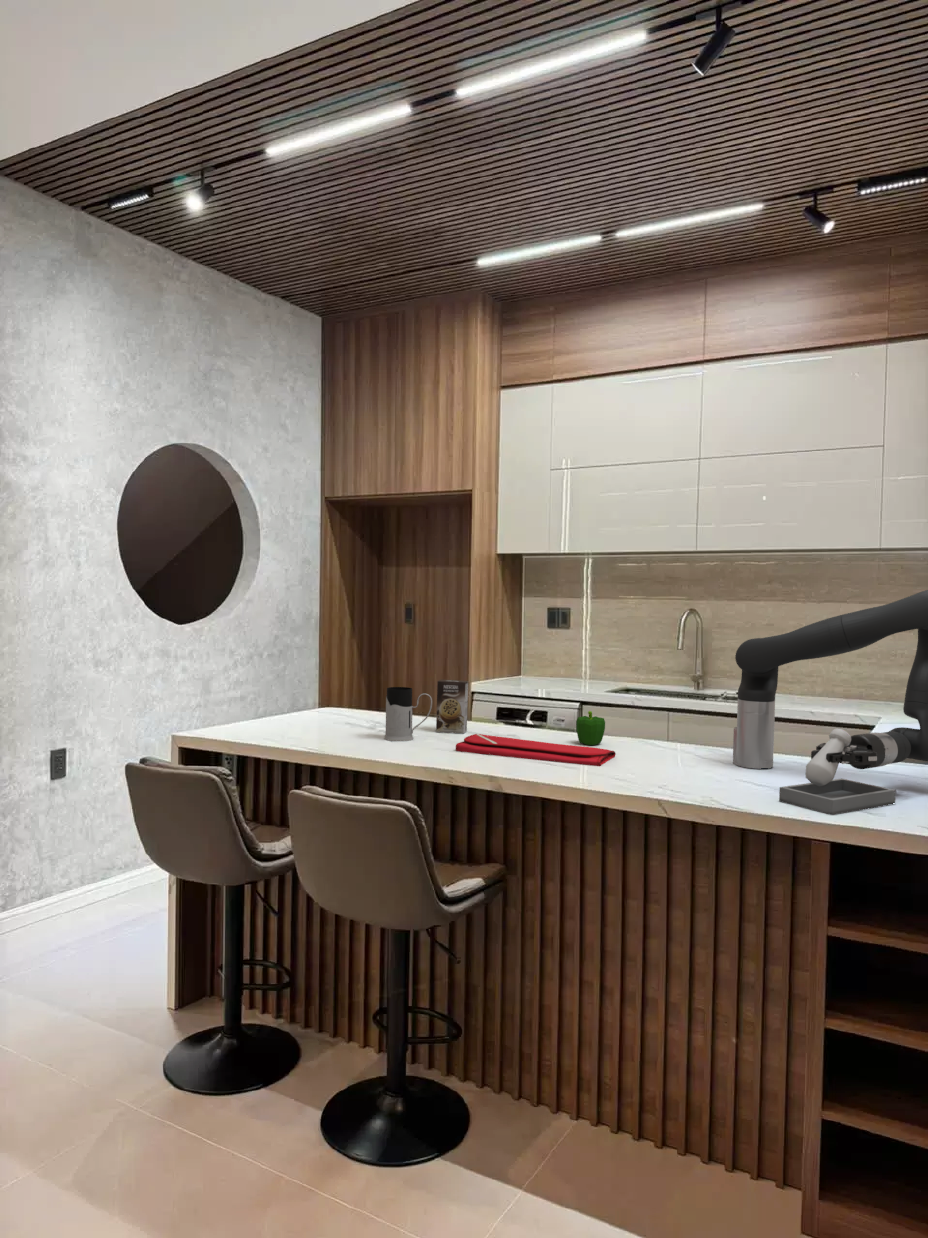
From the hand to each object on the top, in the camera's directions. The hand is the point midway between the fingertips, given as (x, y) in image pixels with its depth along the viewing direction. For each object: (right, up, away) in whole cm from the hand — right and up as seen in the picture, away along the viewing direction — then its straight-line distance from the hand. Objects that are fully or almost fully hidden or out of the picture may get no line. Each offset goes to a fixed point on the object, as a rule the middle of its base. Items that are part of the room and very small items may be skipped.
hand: (820, 757), depth 181 cm
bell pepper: (-38, -8, +71) cm, 81 cm away
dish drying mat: (-56, -8, +53) cm, 78 cm away
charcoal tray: (+5, -10, +4) cm, 12 cm away
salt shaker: (-2, -5, -1) cm, 5 cm away
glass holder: (-92, -7, +73) cm, 117 cm away
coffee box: (-79, -6, +89) cm, 119 cm away
